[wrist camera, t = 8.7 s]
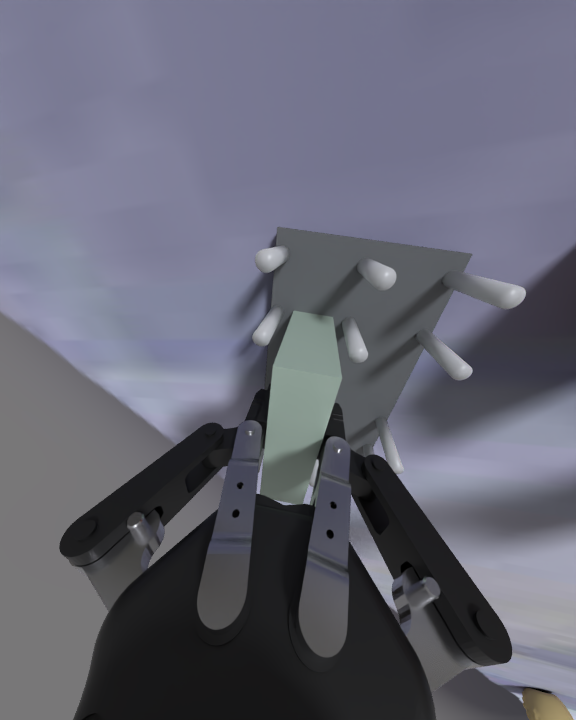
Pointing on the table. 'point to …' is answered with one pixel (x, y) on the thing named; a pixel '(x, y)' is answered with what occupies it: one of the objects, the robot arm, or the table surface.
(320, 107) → the table surface
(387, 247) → the dish rack
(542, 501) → the table surface
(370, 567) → the table surface
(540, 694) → the yellow lumpy ball
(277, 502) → the robot arm
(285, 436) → the sage green prism
